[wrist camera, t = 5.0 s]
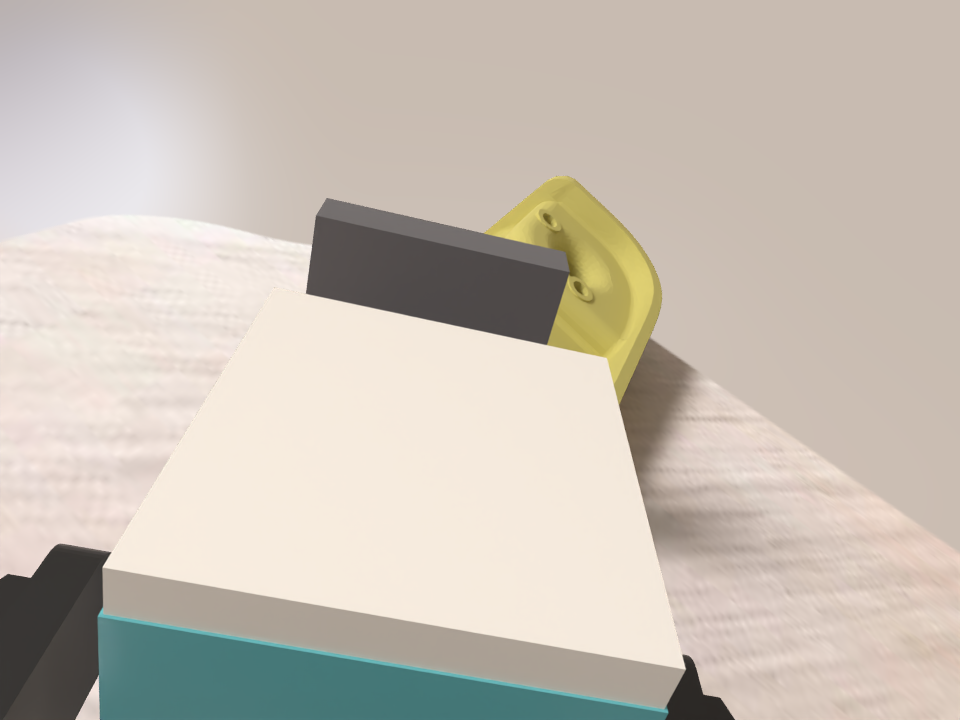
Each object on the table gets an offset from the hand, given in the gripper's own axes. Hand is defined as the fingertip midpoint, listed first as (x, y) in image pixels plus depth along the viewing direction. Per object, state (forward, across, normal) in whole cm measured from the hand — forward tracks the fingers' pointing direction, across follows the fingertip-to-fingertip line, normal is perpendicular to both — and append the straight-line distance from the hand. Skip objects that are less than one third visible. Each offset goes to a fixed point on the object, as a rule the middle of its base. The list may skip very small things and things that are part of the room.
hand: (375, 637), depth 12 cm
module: (-2, 0, +7) cm, 7 cm away
